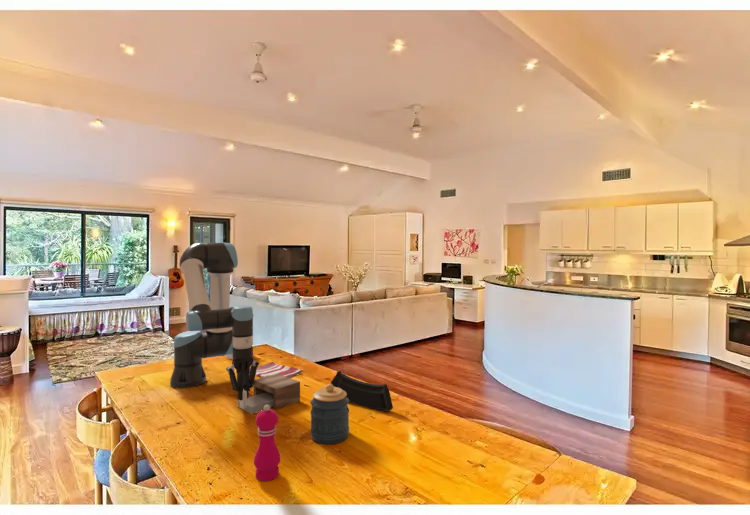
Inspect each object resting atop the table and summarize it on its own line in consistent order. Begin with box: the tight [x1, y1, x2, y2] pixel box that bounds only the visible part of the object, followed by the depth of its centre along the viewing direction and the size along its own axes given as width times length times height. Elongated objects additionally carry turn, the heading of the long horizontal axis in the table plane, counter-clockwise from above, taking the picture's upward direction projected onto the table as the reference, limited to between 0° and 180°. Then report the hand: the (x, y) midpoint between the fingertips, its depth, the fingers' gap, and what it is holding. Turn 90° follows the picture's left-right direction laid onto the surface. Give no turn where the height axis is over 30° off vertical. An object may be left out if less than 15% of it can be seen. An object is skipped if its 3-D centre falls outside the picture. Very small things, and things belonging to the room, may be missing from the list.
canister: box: [310, 383, 350, 445], centre depth 143 cm, size 13×13×18 cm
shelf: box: [253, 374, 301, 410], centre depth 175 cm, size 16×12×8 cm
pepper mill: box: [253, 405, 281, 482], centre depth 119 cm, size 7×7×20 cm
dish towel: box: [249, 361, 303, 378], centre depth 211 cm, size 17×23×3 cm
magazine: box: [330, 370, 394, 412], centre depth 171 cm, size 17×3×30 cm
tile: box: [237, 392, 274, 415], centre depth 171 cm, size 10×18×3 cm, turn 138°
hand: (243, 407), depth 163 cm, fingers closed
